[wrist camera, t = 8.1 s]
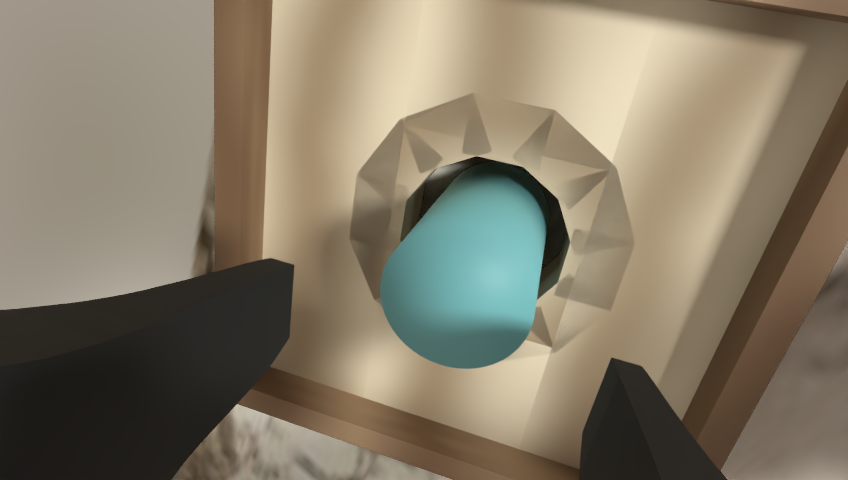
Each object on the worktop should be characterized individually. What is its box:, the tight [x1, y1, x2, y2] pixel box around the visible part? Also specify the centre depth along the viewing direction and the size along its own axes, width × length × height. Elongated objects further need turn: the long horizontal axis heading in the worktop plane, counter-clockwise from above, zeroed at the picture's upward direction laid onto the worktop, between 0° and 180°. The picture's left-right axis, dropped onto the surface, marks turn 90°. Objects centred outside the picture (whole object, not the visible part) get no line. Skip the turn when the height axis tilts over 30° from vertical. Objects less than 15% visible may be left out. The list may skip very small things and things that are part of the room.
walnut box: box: [214, 0, 848, 480], centre depth 18 cm, size 18×18×4 cm
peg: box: [380, 162, 549, 369], centre depth 16 cm, size 4×4×7 cm
